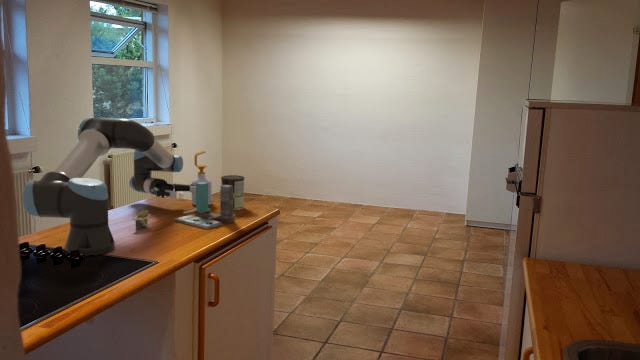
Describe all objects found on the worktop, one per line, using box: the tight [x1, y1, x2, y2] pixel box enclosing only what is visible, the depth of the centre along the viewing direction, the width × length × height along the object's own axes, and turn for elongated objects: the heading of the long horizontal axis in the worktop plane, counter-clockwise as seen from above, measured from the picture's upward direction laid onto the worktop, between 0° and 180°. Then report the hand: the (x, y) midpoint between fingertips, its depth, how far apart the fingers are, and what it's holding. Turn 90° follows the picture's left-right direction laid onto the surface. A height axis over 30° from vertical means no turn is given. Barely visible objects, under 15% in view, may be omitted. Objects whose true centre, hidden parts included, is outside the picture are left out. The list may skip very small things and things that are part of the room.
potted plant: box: [131, 210, 152, 231], centre depth 217 cm, size 12×18×7 cm, turn 173°
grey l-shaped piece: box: [194, 184, 237, 225], centre depth 229 cm, size 12×19×15 cm, turn 54°
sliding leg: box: [182, 182, 212, 214], centre depth 234 cm, size 12×5×12 cm, turn 144°
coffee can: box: [220, 174, 245, 211], centre depth 255 cm, size 10×10×14 cm
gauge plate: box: [174, 214, 223, 230], centre depth 226 cm, size 8×19×1 cm, turn 54°
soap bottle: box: [191, 150, 213, 206], centre depth 260 cm, size 9×9×25 cm
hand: (188, 193), depth 242 cm, fingers open, 13 cm apart
